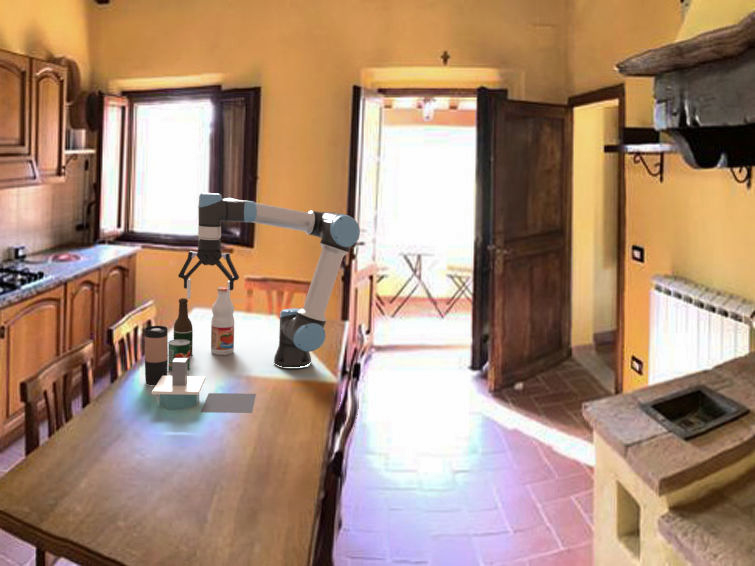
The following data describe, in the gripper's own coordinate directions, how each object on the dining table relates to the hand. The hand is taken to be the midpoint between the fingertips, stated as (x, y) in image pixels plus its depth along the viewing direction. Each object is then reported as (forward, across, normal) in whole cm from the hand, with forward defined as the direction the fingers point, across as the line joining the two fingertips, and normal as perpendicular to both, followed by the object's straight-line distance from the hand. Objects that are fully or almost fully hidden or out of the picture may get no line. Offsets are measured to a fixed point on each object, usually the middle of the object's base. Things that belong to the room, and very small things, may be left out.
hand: (208, 298), depth 198 cm
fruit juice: (+32, 0, -38) cm, 50 cm away
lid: (+26, +6, +18) cm, 32 cm away
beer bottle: (+32, +15, -32) cm, 48 cm away
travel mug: (+32, +18, -1) cm, 37 cm away
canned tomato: (+32, +13, -15) cm, 38 cm away
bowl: (+32, +6, +18) cm, 37 cm away
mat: (+32, -10, +18) cm, 38 cm away
